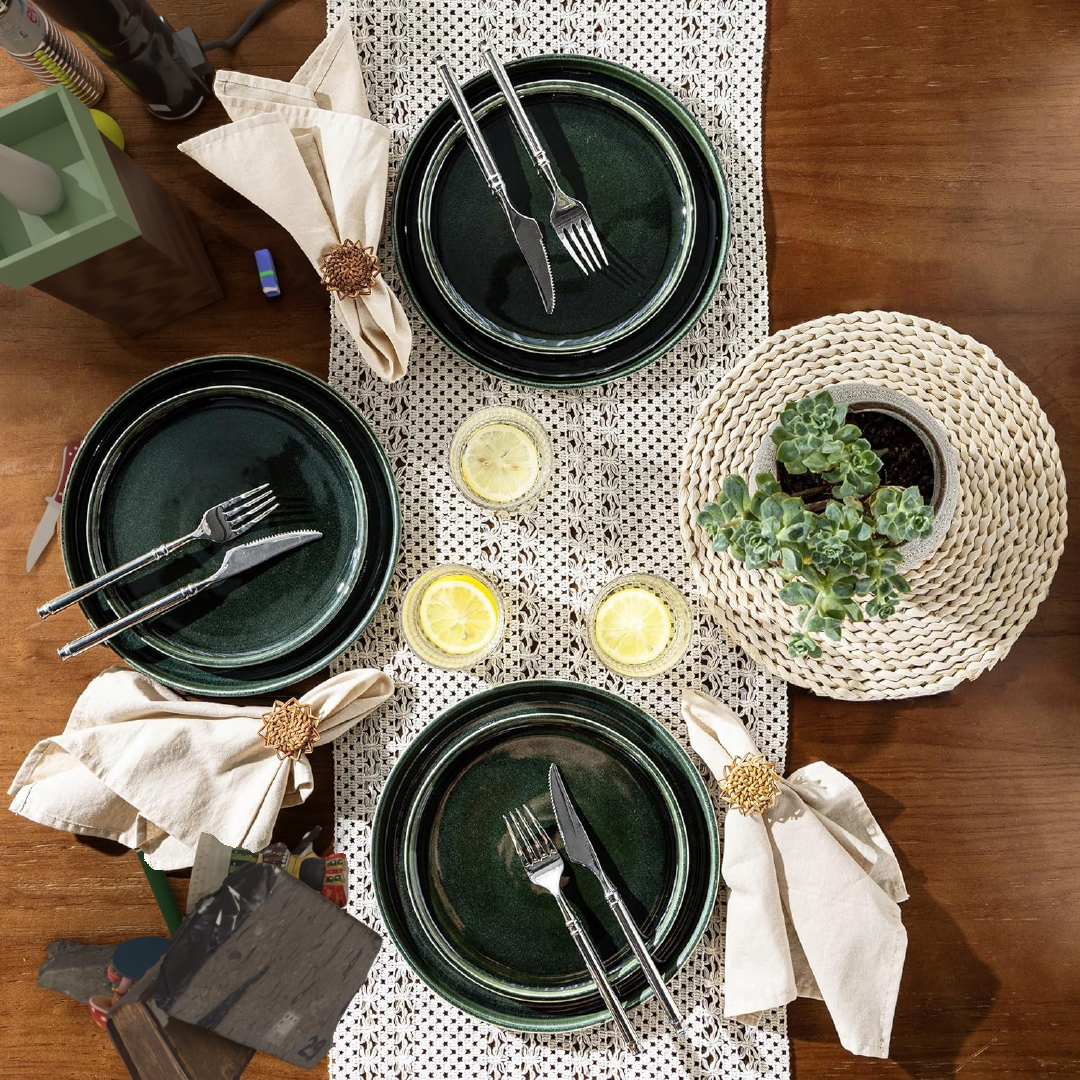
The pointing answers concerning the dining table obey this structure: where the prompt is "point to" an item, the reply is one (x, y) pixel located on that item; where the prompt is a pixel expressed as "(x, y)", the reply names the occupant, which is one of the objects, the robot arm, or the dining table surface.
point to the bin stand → (141, 261)
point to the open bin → (87, 180)
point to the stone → (78, 970)
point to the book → (169, 1040)
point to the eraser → (267, 272)
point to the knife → (51, 509)
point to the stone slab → (267, 964)
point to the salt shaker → (29, 183)
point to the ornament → (108, 127)
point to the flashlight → (163, 894)
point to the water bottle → (47, 51)
